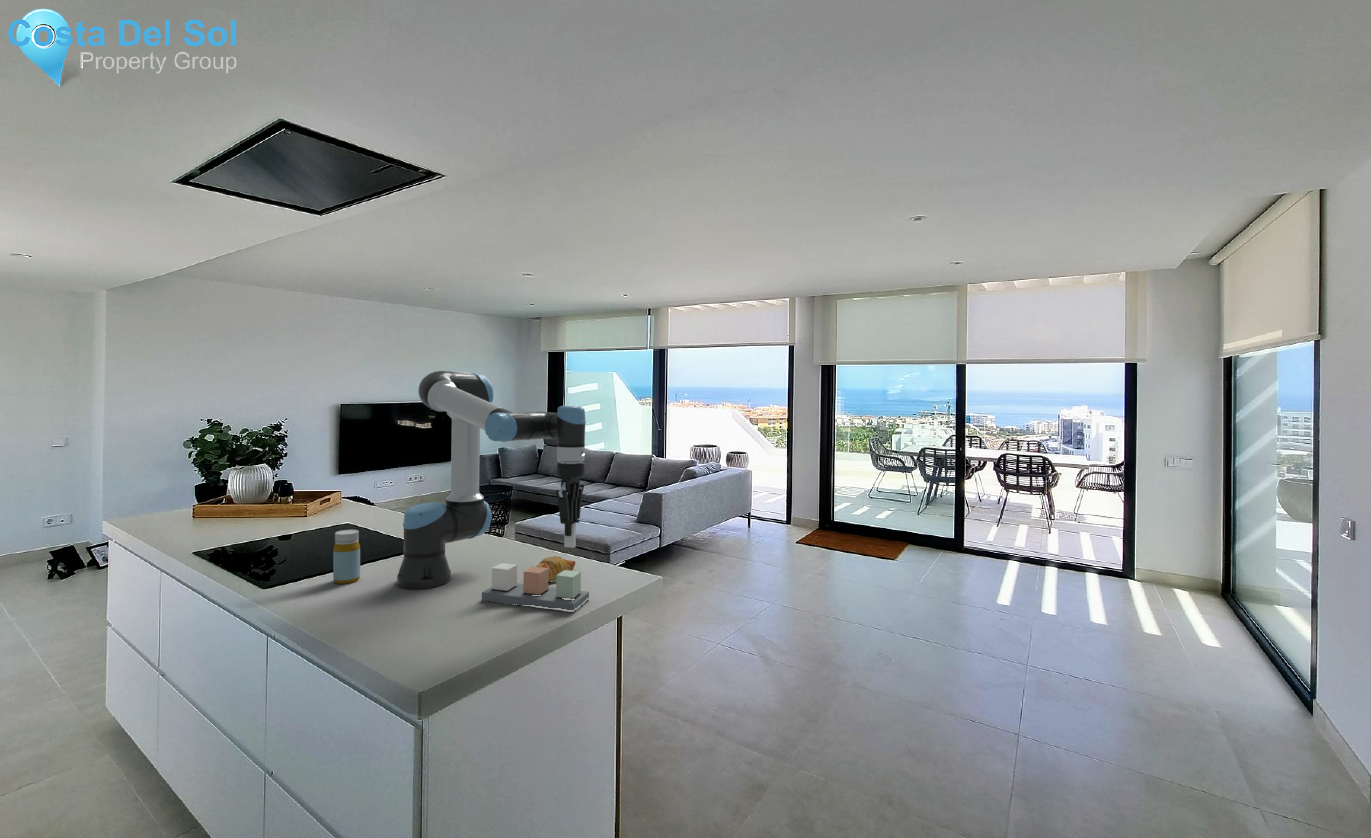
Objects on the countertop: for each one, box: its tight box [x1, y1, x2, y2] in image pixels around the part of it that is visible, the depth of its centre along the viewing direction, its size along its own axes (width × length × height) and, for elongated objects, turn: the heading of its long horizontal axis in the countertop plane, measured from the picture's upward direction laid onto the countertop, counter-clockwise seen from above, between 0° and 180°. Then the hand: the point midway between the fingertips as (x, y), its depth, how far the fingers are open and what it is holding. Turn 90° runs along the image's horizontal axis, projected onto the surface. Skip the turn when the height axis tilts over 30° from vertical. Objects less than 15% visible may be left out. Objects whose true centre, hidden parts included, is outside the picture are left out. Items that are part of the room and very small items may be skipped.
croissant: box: [535, 556, 576, 583], centre depth 182 cm, size 21×10×8 cm, turn 149°
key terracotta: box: [522, 566, 549, 595], centre depth 162 cm, size 5×5×6 cm
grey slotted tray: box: [481, 582, 590, 610], centre depth 162 cm, size 28×10×2 cm, turn 76°
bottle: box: [332, 529, 361, 585], centre depth 174 cm, size 7×7×15 cm
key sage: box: [555, 570, 582, 599], centre depth 159 cm, size 5×5×6 cm
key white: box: [491, 562, 518, 591], centre depth 164 cm, size 5×5×6 cm
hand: (569, 546), depth 158 cm, fingers closed
